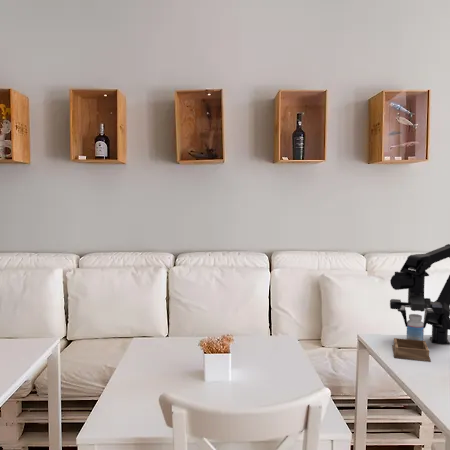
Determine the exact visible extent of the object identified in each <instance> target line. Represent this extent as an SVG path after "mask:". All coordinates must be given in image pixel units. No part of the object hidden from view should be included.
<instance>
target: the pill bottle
mask: <svg viewBox="0 0 450 450" xmlns="http://www.w3.org/2000/svg"><path fill="white" fill-rule="evenodd" d="M408 319H409V320H407V327H406V339H409V340H420V341H424V337H425V336H424V332H425V331H424V330H425V328H424V324H423V322H424V321H422V320H423V316H422V315H421V314H415V313H410V314H408Z"/></svg>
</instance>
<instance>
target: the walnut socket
mask: <svg viewBox="0 0 450 450" xmlns="http://www.w3.org/2000/svg"><path fill="white" fill-rule="evenodd" d="M391 348H392V353H393V354H392V355H393V358H394V359H399V360H400V359H401V360H407V361H408V360H410V361H418V362H419V361H420V362H426V363H427V362H429V363H430V362H431V363H432V361H431V356H430V350H429V347H428V344H427V343H426V340H423V341H420V340H409V339H407V338H399V337H398V338H397V337H396V338H395V337H394V338H393V345H392V347H391Z"/></svg>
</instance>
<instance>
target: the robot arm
mask: <svg viewBox="0 0 450 450" xmlns="http://www.w3.org/2000/svg"><path fill="white" fill-rule="evenodd" d="M448 258H449V259H450V243H448V244H446V245H444V246H441V247H438V248H437V249H433V250H431V251H429V252H425V253H415V254H410V255H408V256H407V258H406V260H405V262H404V263H403V265H402V267H401V268H400V271H394V274H393V275H392V276H391V278H390V286H391V288H392V289H393V290H395V291H399V290H407V294H408V295H407V302H405V301H401V299H399V298H398V299H396V298H391V299H390V300H389V308H390V310H391V309H392V310H397V311H398V313H399V312H400V313H401V315H402V318H403V322H404V325H405V327H406V328H407V321H408V320H407V309H406V308H410V310H411V311H414V312H416V311H417V312H424V315H423V321H422V322H423V324H424V329H425V328H427V327H426V326H427V325H430V326H431V336H429V340H430V342H431V343H432V344H441V345H442V344H443V345H450V341H449V339H448V336H449V335H448V334H449V331H450V274H448V277H447V279H446V281H445V283H444V285H443V287H442V289H441V291H440V293H439V295H438V297H437V299H436V300H435V301H431V298H430V297H429V298H427V297H425V284H426V283H425V282H426V281H425V277H430V274H429V273H428V272H427V270H428V269H430V268H431V267H432V265H433V264H435V263H438V262H441V261H442V260H445V259H448Z"/></svg>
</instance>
